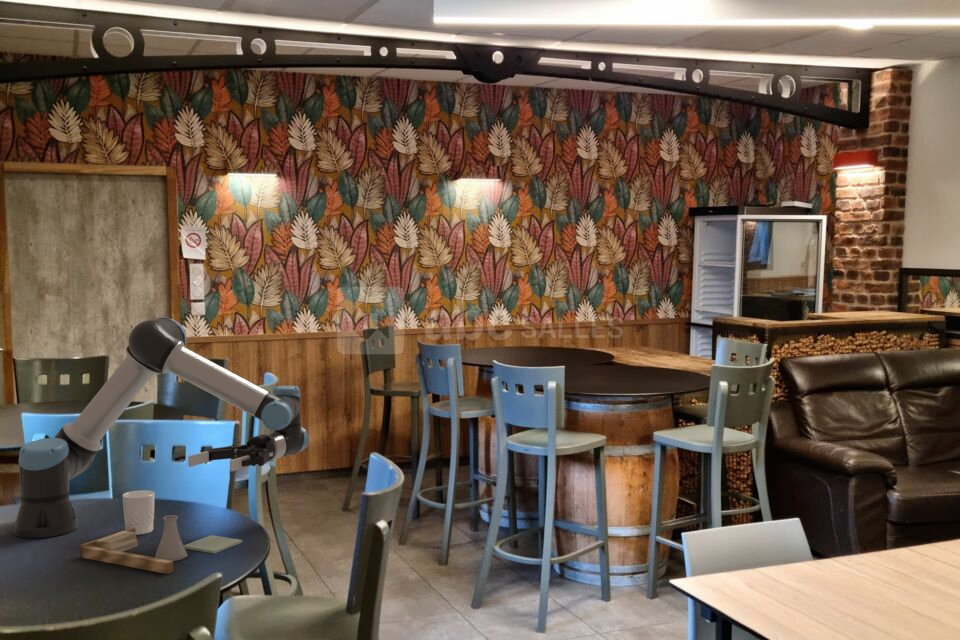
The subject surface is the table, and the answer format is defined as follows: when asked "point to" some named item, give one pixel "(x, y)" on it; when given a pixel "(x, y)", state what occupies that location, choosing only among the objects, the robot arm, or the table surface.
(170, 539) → the flask
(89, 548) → the corner fence
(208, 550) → the coaster
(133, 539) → the offcut top
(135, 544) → the offcut low
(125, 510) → the white cup
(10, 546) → the table surface
